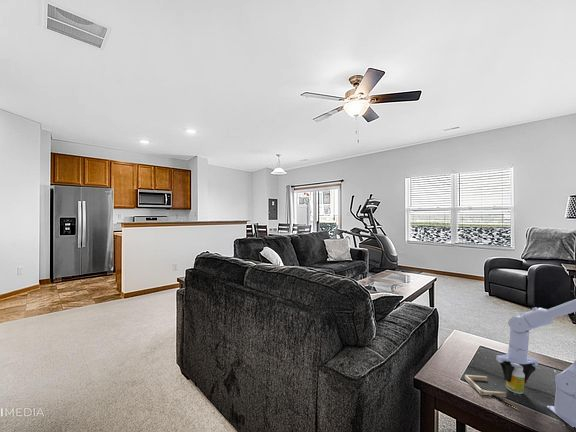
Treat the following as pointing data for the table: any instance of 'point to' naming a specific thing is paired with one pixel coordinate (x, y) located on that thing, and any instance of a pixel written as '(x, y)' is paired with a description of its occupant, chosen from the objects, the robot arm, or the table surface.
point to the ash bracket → (482, 392)
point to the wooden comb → (502, 400)
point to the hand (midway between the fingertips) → (515, 381)
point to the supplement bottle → (516, 379)
